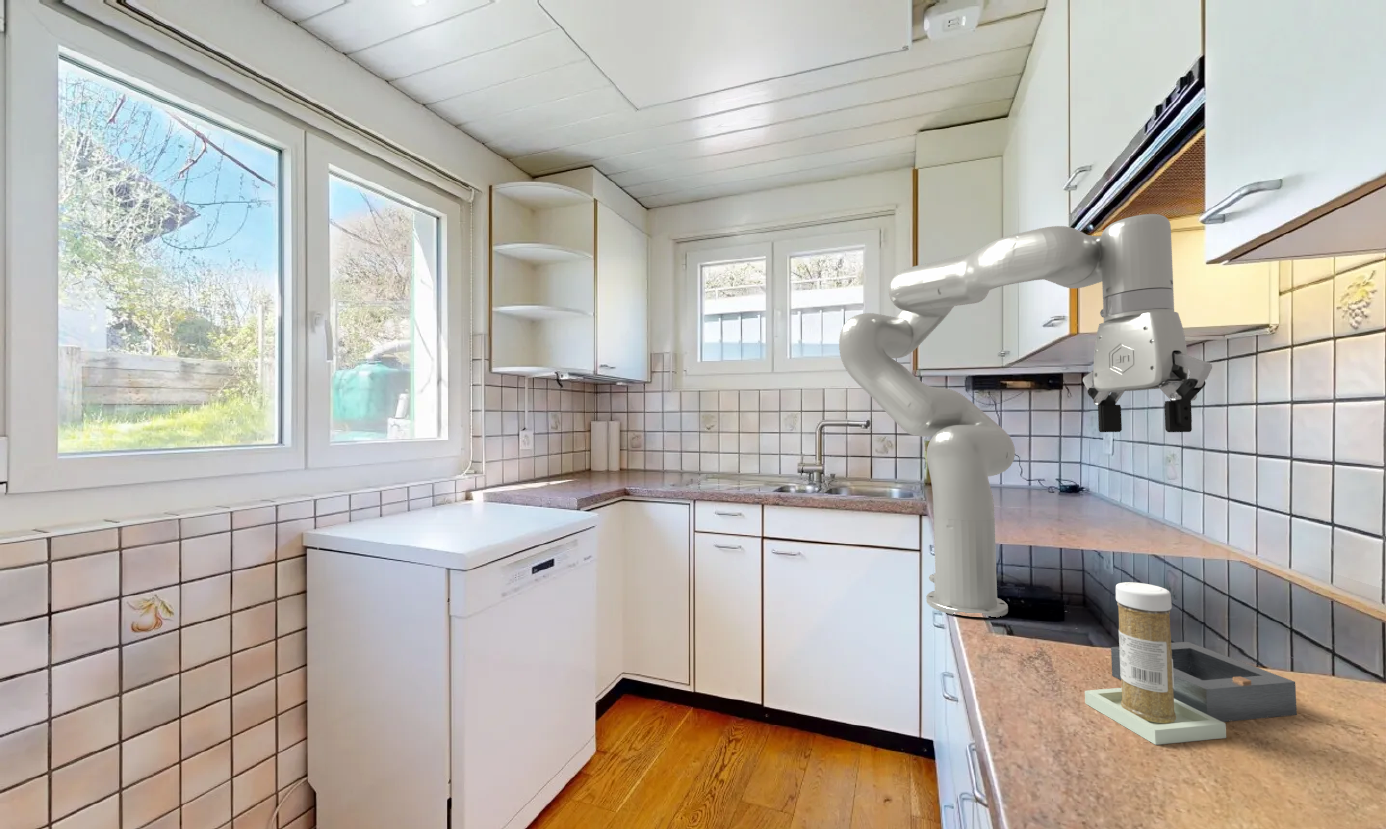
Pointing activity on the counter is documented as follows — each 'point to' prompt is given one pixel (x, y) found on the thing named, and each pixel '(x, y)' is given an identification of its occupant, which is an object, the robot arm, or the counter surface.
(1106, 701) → the tray
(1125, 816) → the counter surface
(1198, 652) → the block
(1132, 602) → the spice jar
